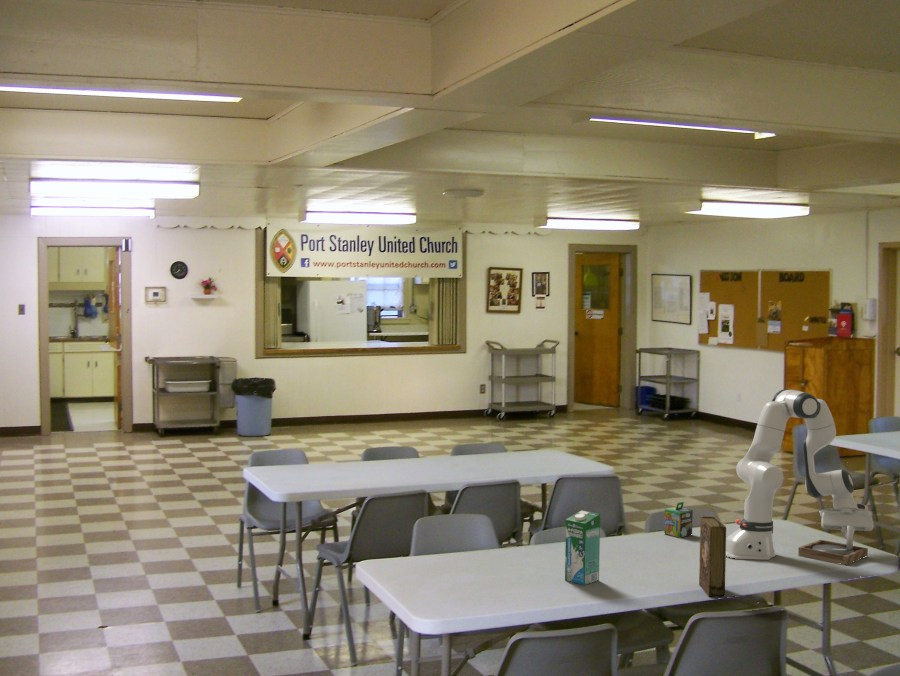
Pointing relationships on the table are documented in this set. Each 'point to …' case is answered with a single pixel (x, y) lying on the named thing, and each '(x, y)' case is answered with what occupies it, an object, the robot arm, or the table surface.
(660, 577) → the table surface
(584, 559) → the milk carton
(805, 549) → the dial housing
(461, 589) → the table surface
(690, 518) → the chalk box
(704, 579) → the book
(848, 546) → the dial
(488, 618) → the table surface
